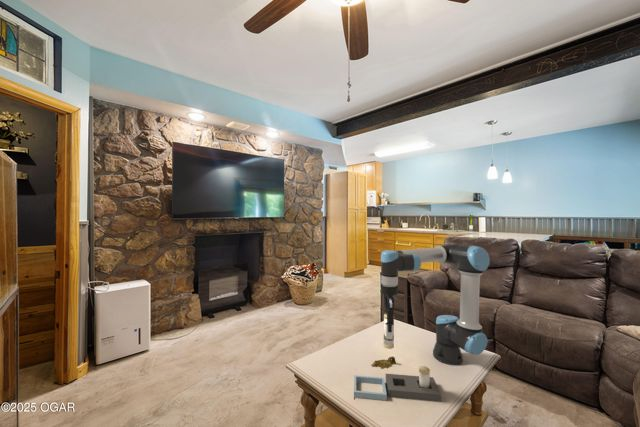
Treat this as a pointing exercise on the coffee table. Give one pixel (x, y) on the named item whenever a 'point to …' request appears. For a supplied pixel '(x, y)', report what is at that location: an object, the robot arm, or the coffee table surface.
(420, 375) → the fuse
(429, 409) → the coffee table surface
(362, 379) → the parts tray
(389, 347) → the cylinder
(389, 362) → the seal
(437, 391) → the fuse holder
